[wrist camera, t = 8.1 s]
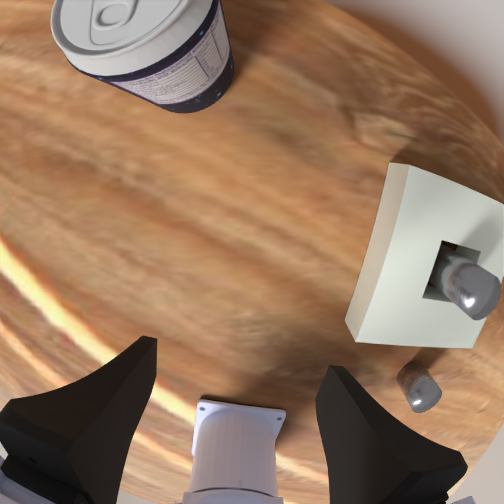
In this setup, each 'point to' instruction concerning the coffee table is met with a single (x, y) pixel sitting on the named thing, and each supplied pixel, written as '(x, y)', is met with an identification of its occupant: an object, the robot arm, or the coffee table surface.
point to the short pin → (418, 386)
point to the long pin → (465, 283)
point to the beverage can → (149, 48)
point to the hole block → (422, 260)
